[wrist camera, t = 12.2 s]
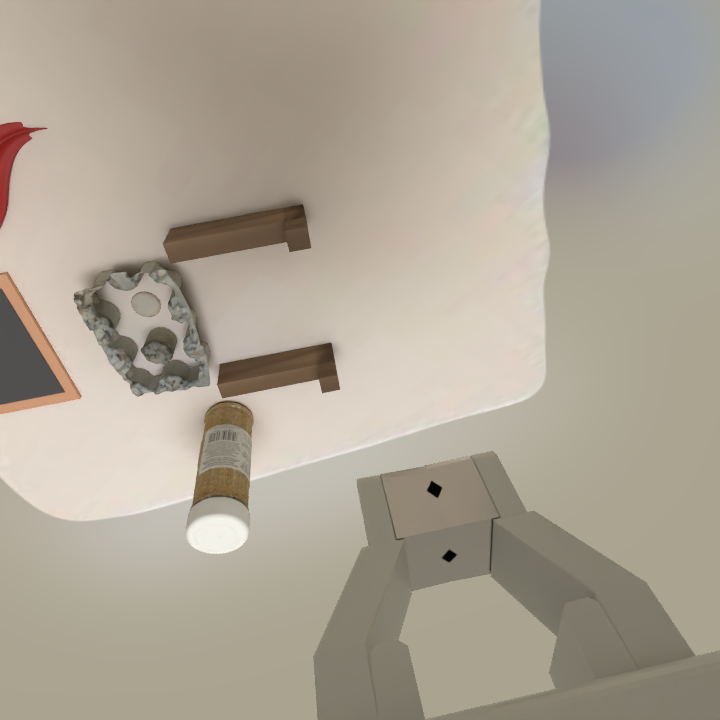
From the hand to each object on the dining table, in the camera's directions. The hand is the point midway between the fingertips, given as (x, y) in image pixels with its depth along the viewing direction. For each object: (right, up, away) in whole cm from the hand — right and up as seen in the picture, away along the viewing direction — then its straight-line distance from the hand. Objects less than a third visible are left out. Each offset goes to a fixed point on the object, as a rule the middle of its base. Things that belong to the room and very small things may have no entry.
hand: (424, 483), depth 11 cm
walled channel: (-10, +8, +30) cm, 33 cm away
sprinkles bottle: (-14, -3, +37) cm, 39 cm away
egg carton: (-18, +6, +30) cm, 36 cm away
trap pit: (-30, +4, +29) cm, 42 cm away
